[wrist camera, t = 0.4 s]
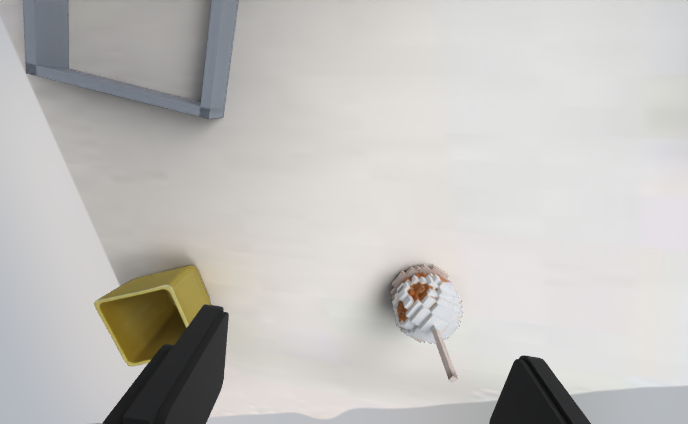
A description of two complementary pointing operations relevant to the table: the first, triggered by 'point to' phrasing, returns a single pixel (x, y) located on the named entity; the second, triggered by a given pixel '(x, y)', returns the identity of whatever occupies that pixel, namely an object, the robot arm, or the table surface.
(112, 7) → the table surface
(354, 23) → the table surface
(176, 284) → the flower pot
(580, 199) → the table surface
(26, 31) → the box
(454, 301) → the decorative ornament
